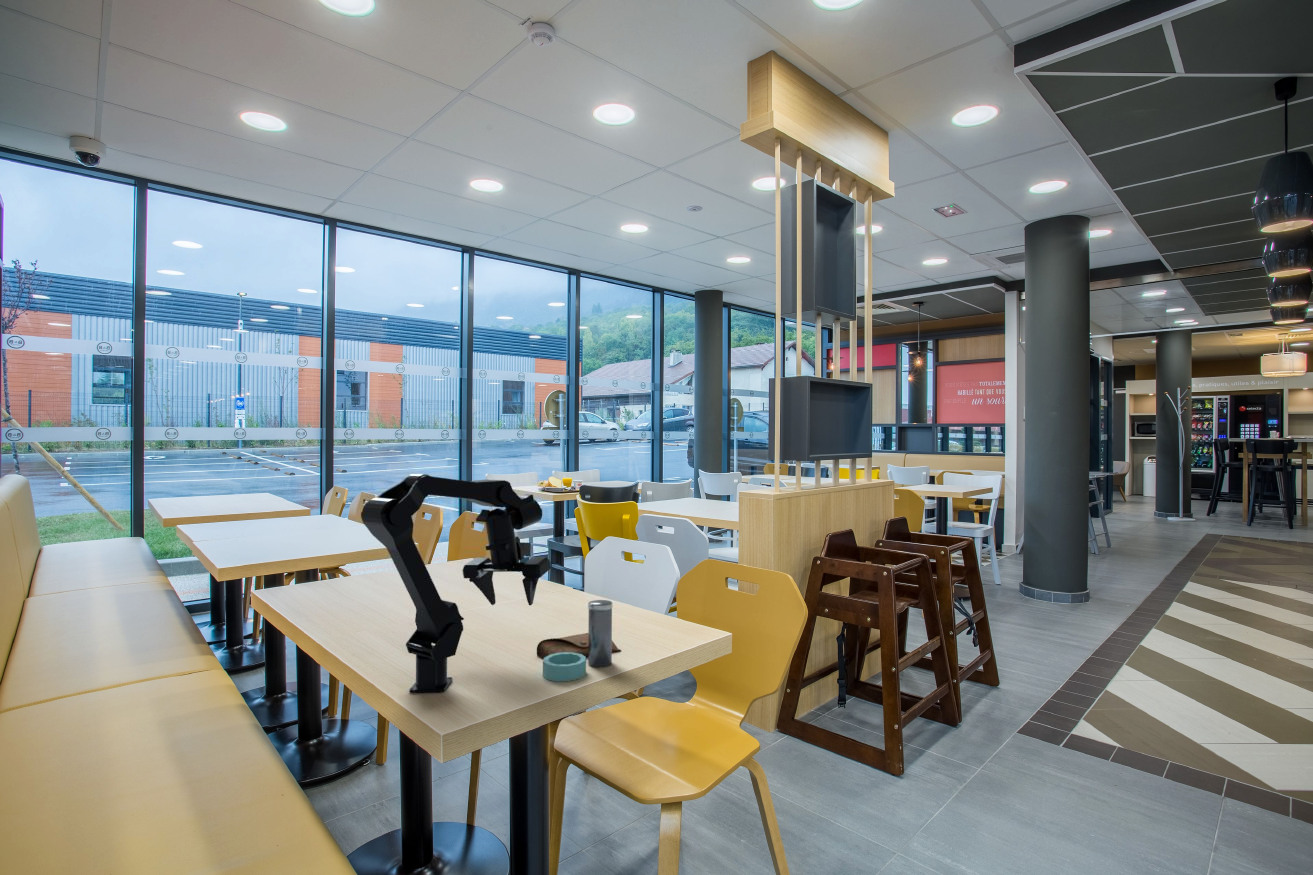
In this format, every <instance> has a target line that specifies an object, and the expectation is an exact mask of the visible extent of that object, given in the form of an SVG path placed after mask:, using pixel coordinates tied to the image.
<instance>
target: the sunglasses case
mask: <svg viewBox="0 0 1313 875" xmlns="http://www.w3.org/2000/svg"><path fill="white" fill-rule="evenodd" d="M561 652H573V653H578V654H582V655H583V656H585V657H586V659H587V658H588V632H586V633H581V634H580V633H579V634H574V635H568V636H563V637H557V638H556V637H555V638H547V639H543V640H541V641H539V642H538V644H537V647H536V657H538V658H540V659H542V661H543V660H544V657H547V656H549V655H551V654H556V653H561ZM617 652H618V653H619V652H622V650H621V649H619V648H618V647H617V645H616V644H615V642H614V641H613V640H612V654H613V653H617Z"/></svg>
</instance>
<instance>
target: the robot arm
mask: <svg viewBox="0 0 1313 875" xmlns="http://www.w3.org/2000/svg"><path fill="white" fill-rule="evenodd" d="M428 496H435V497H436V496H437V497H442V498H443V497H444V498H445V497H446V498H456V499H464V500H467V501H469V502H471V503H473V504H476V505H479V506H483V507H491V508H492V507H493V508H494V509H491V510H489V509H481V512H480V513H479V514H478V515H477V517H476V518H475V521H476V522H478V523H479V522H480V523H485V524H484V525H485V528H486V529H485V530H486V534H487V542H488V543H487V544H486V545H485V550H486V551H489V555H490V558H489V557H474V558H473V559H471V560H470V561H468V562H467V563H465V564H464V565H463V568H462V570H461V571H462V576H463V579H468V581H469V582H470V583H473V584H474V585H475V587H477V589H478V590H480V592H481V593H482V594H483V596H484V597H485V598H486V599H487V601H488V602H489V604H490V605H491V606H494V605H495V604H496V593H495V587H494V583H493V576H494V572H495V573H497V572H498V573H499V572H502V573H503V572H506V573H507V572H508V573H509V572H510V573H511V572H514V573H515V572H520V573H521V574H522V576H523V577H524V578H523V579H522V581H521V582H522V585H523V589H524V594H525V598H526V601H527V604H528V606H532V605H533V604H534V601H535V600H534V599H535V595H536V590H537V585H538V582H539V579H540V578H542V577H543V576H544V575H545V574H546V573H547V572H548V571H549V570H551V569H552V566H551V565H552V564H551V561H550V559H549V558H548V557H547V556H532V557H531V553H532V552H531V550H532V548H531V545H532V542H523V541H522V542H521V541H520V538H519V536H516V533H515V530H516V531H519V530H522V529H525V528H527V527H530V526H532V525H534V524H537V523H539V522H540V521H541V519H542V517H543V508H541V505H540V504H539V502H538V501H537V500H536V499H534V494H532V493H531V494H528V493H527V494H524V495H522V496H520V495H518V494H517V493H516V491H515V490H514V489H513V487H512V484H511V482H510V481H508V480H503V479H479V480H478V479H476V480H471V481H469V480H462V479H454V478H446V477H439V476H431V475H430V474H425V473H424V474H423V473H410V474H409V475H408V476H406V477H405V478H403V480H401V481H400V482H399V483H397V484H395V485H393V486H392V487H390V488H388V489H387V490H384V491H383V492H382V493H381V494H379V495H378V496H377V497H374V498H371V499H369V500H368V501H367V502H366V503H365V504H364V506H363V508H362V511H361V512H360V518H361V521H362V523H363V524H364V526H365V527H366V529H367V530H368V531H369V532H370V534H371V535H372V536H373V537H374V538H375V539H376V540H378V542H380V543H381V544H382V545H383V546H384V547H385V548H386V550H387V551H388V554H389V556H390V558H391V559H392V563H393V564H394V566H395V568H396V570H397V572H398V574H399V576H400V578H401V580H402V582H403V585H404V587H405V588H406V591H407V593H408V594H409V597H410V599H411V601H412V603H413V605H414V607H415V611H416V612H415V618H414V622H415V626H416V629H415V631H414V632H413V633H412V634H411V636H410V638H408V641H407V642H406V643H405V646H406V649H407V652H408V654H413V655H415V682H414V683H413V685H411V687H409V689H408V690H409V691H408V692H409V693H439V692H440V693H443V692H445V691H446V690H447V688H448V686H449V685H450V684H451V683H452V682H453V677H452V676H451V677H450V676H449V677H448V658H450V657H453V656H455V655H456V654H457V650H458V647H459V643H460V639H461V636H462V633H463V631H464V625H463V622H462V621H464V620H465V618H464V617H463V616H462V615H461V614H460V610H459V606H458V605H457V603H456V602H453V601H449V600H444V599H442V598H441V596H440V594H439V591H438V590H437V587H436V586H435V583H434V581H433V579H432V577H431V574H430V572H429V571H428V568H427V567H426V564H425V562H424V559H423V558H422V555H421V553H420V551H419V549H418V547H417V545H416V543H415V541H414V538H413V536H414V521H413V515H415V514H416V513H417V512H418V511H419V510H420V508H421V506H422V505H423V503H424V501H425V499H426V498H427V497H428ZM503 508H504V509H503ZM525 557H530V558H529V559H528V560H527V561H525V562H524V561H522V560H524V559H525ZM520 561H522V562H520Z"/></svg>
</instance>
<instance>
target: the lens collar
mask: <svg viewBox="0 0 1313 875" xmlns="http://www.w3.org/2000/svg"><path fill="white" fill-rule="evenodd" d="M586 672H587V658H586V657H585V656H583V655H582V654H578V653H573V652H561V653H556V654H551V655H549V656H547V657H544V660H543V659H542V677H543V678H544V679H546V680H548V681H552V682H556V681H557V682H571V680H572V681H575V680H576V679H577V680H580V679H582V678H583V677H585V676H586ZM584 675H585V676H584ZM579 678H580V679H579Z"/></svg>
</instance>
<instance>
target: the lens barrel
mask: <svg viewBox="0 0 1313 875" xmlns="http://www.w3.org/2000/svg"><path fill="white" fill-rule="evenodd" d="M587 609H588V626H587V627H588V632H587V633H588V659H587V661H588V662H587V663H588V666H589V667H592V668H600V667H601V668H607V667H609V666H612V664H613V662H612V660H613V658H612V655H613V653H612V641H613V637H612V635H613V602H612V601H611V600H607V599H596V600H595V599H594V600H591V601H589V602H588V603H587Z"/></svg>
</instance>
